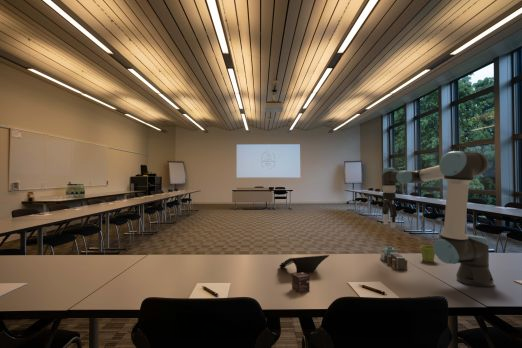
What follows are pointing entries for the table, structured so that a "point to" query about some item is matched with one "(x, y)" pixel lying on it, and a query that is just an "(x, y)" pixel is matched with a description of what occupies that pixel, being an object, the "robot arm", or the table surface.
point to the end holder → (383, 257)
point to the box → (300, 282)
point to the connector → (388, 251)
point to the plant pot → (427, 253)
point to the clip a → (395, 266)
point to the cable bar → (398, 260)
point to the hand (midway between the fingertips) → (389, 226)
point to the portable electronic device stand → (305, 263)
